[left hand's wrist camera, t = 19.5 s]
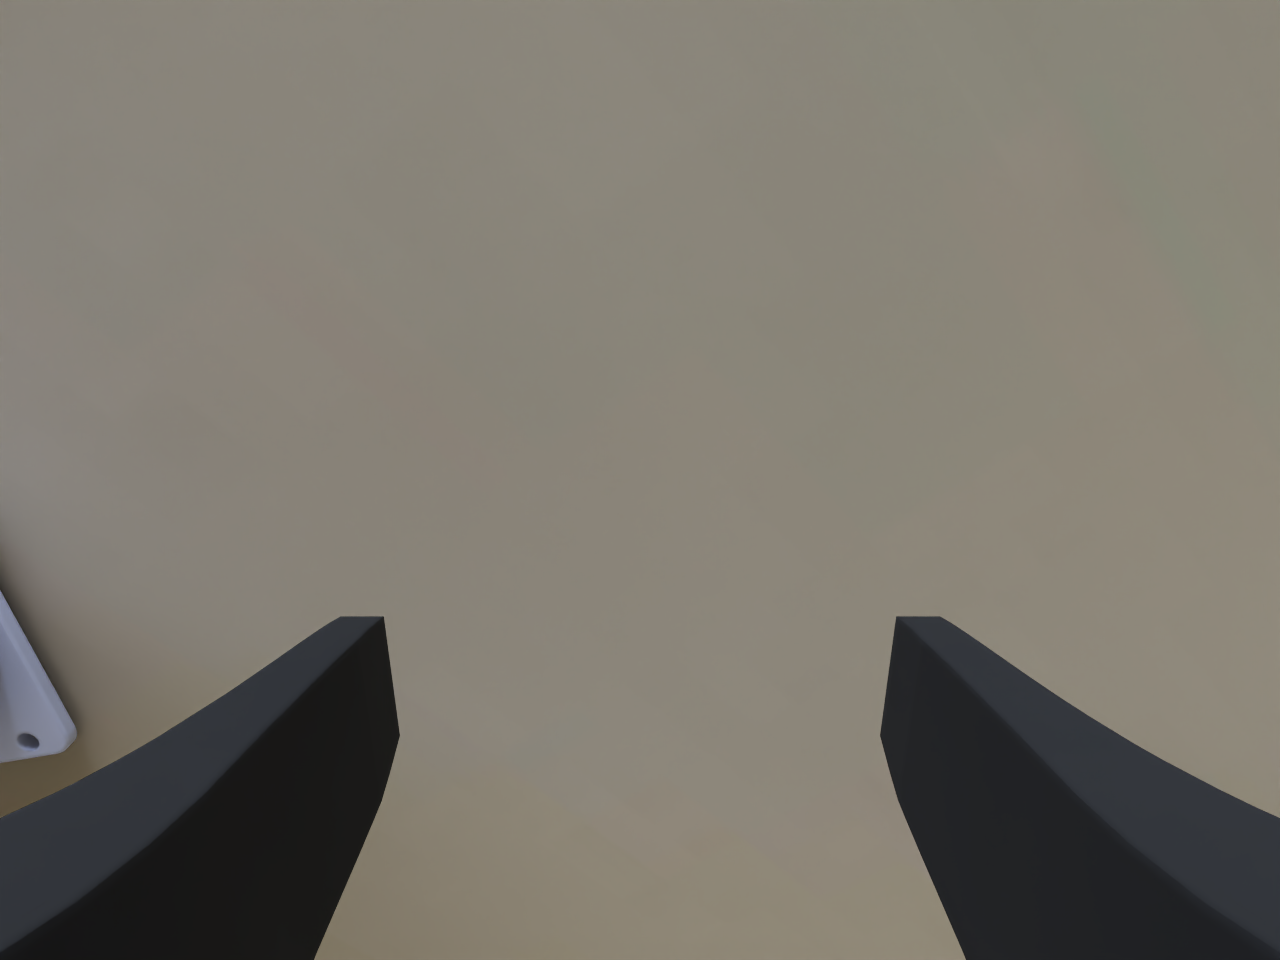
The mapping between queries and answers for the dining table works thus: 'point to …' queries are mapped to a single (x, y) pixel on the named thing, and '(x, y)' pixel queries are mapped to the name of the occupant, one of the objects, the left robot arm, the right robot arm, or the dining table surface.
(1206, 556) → the dining table surface
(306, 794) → the left robot arm
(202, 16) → the dining table surface
